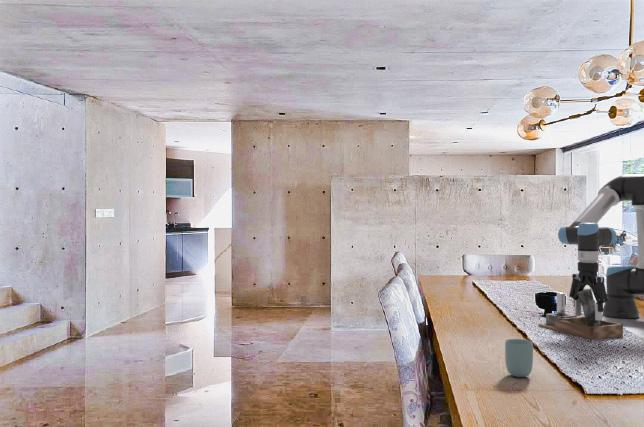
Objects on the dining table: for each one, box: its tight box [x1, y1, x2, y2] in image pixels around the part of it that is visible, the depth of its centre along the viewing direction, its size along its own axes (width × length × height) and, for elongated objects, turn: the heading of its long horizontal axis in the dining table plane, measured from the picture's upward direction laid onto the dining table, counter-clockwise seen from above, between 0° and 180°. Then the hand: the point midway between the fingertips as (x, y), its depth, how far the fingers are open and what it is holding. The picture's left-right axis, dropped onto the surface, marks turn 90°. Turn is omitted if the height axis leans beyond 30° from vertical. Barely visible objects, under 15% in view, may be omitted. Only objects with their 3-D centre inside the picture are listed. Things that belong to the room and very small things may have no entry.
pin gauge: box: [556, 292, 566, 316], centre depth 249 cm, size 3×3×13 cm
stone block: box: [577, 287, 600, 327], centre depth 236 cm, size 9×14×5 cm
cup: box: [504, 338, 534, 378], centre depth 176 cm, size 8×8×10 cm
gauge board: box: [537, 312, 624, 340], centre depth 240 cm, size 16×28×5 cm, turn 23°
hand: (588, 317), depth 236 cm, fingers closed on stone block, 10 cm apart
